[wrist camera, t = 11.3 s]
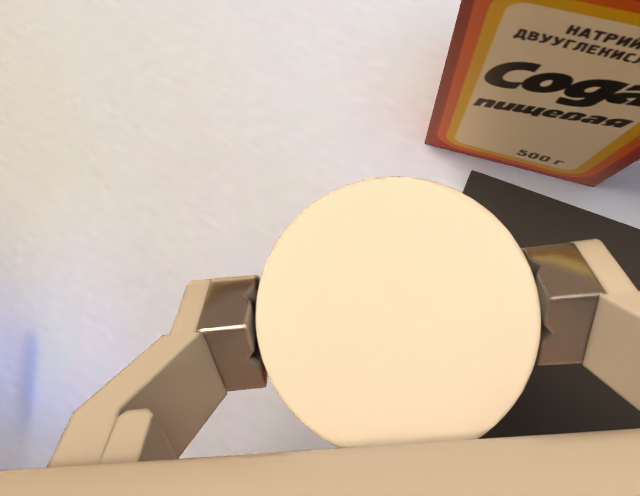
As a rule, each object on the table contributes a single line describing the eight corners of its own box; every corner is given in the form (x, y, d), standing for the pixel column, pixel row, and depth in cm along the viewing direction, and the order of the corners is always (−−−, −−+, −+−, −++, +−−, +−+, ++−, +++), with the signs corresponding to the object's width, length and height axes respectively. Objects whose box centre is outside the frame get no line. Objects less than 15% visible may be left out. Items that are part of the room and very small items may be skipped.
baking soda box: (424, 143, 29) (477, -60, 13) (455, 40, 30) (540, -269, 14) (593, 186, 28) (873, 17, 12) (622, 77, 28) (925, -220, 13)
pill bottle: (274, 344, 17) (135, 379, 7) (355, 205, 17) (323, 64, 8) (419, 433, 16) (476, 608, 6) (501, 285, 16) (675, 239, 7)
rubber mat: (633, 654, 25) (636, 658, 24) (337, 510, 27) (337, 512, 27) (761, 274, 26) (765, 273, 26) (471, 171, 29) (472, 169, 28)
